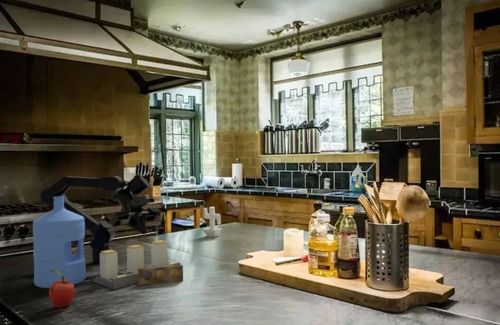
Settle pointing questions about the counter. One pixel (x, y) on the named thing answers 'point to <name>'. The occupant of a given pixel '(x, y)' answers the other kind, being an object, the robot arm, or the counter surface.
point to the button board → (124, 278)
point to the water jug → (58, 246)
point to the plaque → (160, 274)
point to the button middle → (135, 258)
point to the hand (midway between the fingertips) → (145, 233)
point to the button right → (159, 253)
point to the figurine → (212, 222)
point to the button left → (108, 264)
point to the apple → (61, 292)
